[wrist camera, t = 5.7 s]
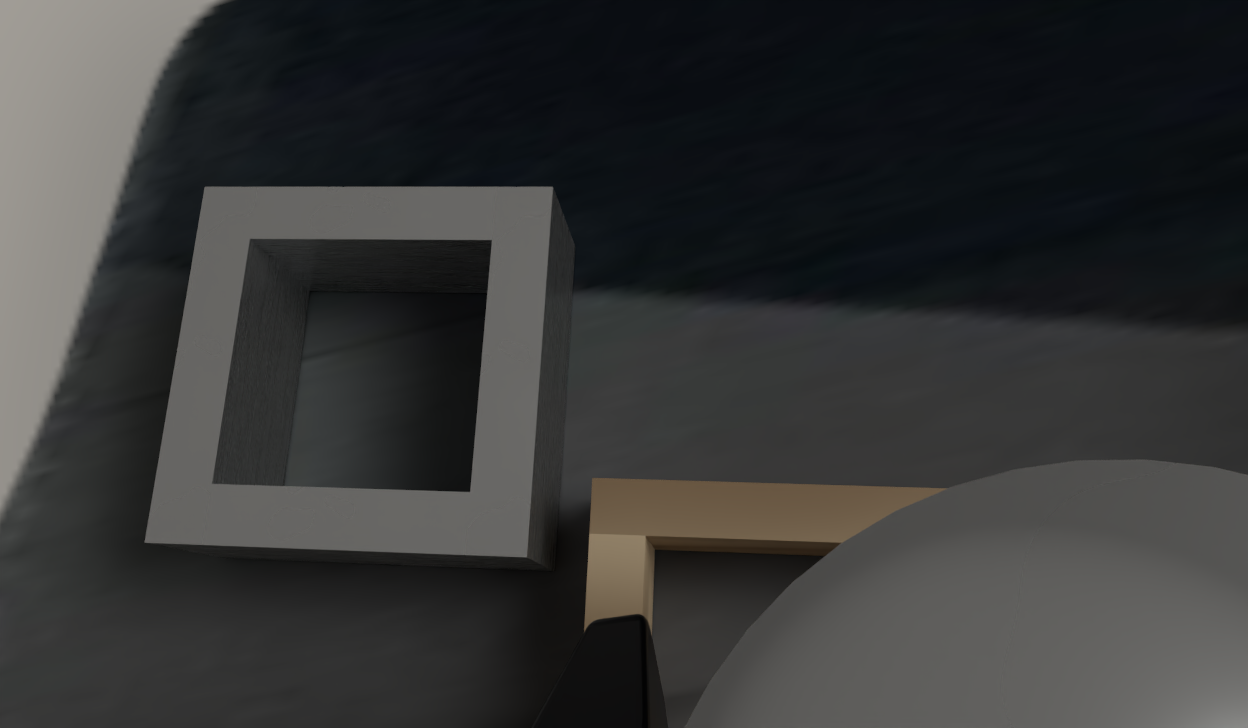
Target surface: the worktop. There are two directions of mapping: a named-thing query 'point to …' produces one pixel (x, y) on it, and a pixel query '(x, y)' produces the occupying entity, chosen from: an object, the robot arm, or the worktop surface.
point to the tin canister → (1014, 611)
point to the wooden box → (715, 527)
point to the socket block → (270, 359)
